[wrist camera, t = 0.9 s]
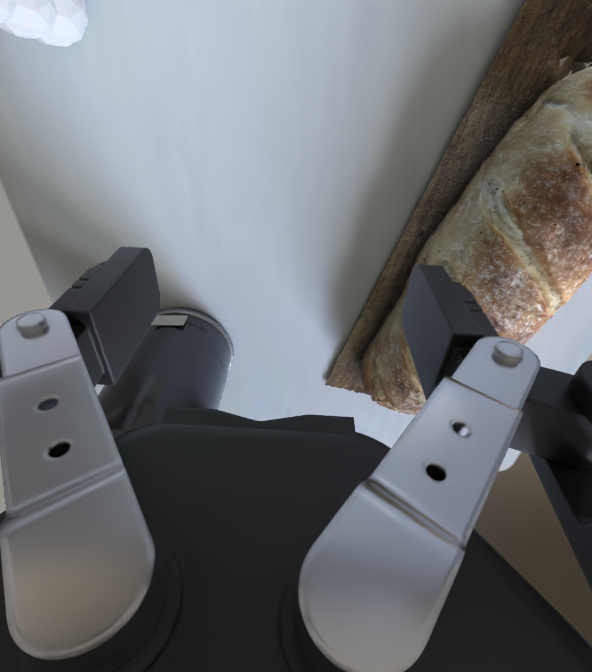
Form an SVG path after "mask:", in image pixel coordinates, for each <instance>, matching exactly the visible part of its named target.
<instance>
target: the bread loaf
mask: <svg viewBox="0 0 592 672" xmlns="http://www.w3.org/2000/svg"><path fill="white" fill-rule="evenodd" d="M577 162H578V163H579V164H581V165H579V166H576V163H577ZM495 188H498V189H499V190H496V189H495ZM481 231H482V233H481ZM480 233H481V234H480ZM479 234H480V235H479ZM485 242H486V243H485ZM438 251H440V252H439V253H438ZM424 258H425V260H424ZM416 264H426V265H442V266H443V267H444V268H445V270H446V272H447V273H448V275H449V277H450V278H451V280H452V282H458V283H459V284H461V285H462V286H465V287H466V289H468V290H469V291H470V292H471V293H472V294H473V296H474V298H475V299H476V301H477V304H479V305H480V307H481V308H482V310H483V313H485V314H486V316H487V318H488V319H489V321H490V322H491V324H492V325H493V327H494V328H495V330H496V331H497V333H498V335H499V336H500V337H505V338H509V339H512V340H515V341H517V342H519V343H521V344H523V345H525V344H526V343H527V342H528V341H529V340H530V339H531V338H532V337H533V336H534V335H535V334H536V333H537V332H538V331H539V330H540V329H541V328H542V326H543V325H544V324H545V323H546V321H547V320H548V319H550V318H551V317H552V316H553V315H554V314H555V313H556V311H557V309H559V308H560V307H561V306H563V305H564V304H566V303H567V302H568V300H569V299H570V298H571V297H572V296H573V294H574V293H575V292H576V291H577V290H578V289H579V288H580V287H581V285H582V284H583V283H584V282H585V281H586V280H588V278H589V276H590V274H591V272H592V0H525V2H524V4H523V6H522V8H521V10H520V12H519V14H518V16H517V18H516V20H515V22H514V24H513V26H512V27H511V29H510V31H509V33H508V35H507V36H506V38H505V40H504V42H503V44H502V46H501V48H500V50H499V52H498V54H497V55H496V57H495V59H494V61H493V63H492V65H491V67H490V69H489V71H488V73H487V74H486V76H485V78H484V80H483V82H482V84H481V86H480V88H479V90H478V91H477V93H476V95H475V97H474V99H473V101H472V103H471V104H470V106H469V108H468V110H467V112H466V114H465V116H464V118H463V119H462V121H461V123H460V125H459V127H458V129H457V131H456V133H455V135H454V137H453V139H452V141H451V143H450V145H449V147H448V149H447V150H446V152H445V154H444V156H443V158H442V160H441V162H440V164H439V166H438V168H437V170H436V172H435V174H434V176H433V178H432V180H431V182H430V183H429V185H428V187H427V189H426V191H425V192H424V194H423V196H422V198H421V200H420V202H419V203H418V205H417V207H416V209H415V211H414V213H413V215H412V217H411V219H410V221H409V223H408V225H407V227H406V229H405V231H404V233H403V235H402V237H401V239H400V241H399V242H398V244H397V246H396V248H395V250H394V252H393V254H392V256H391V258H390V260H389V262H388V264H387V266H386V267H385V269H384V271H383V273H382V275H381V277H380V279H379V281H378V283H377V285H376V287H375V289H374V291H373V292H372V294H371V296H370V298H369V300H368V302H367V304H366V306H365V308H364V310H363V312H362V314H361V316H360V318H359V320H358V322H357V323H356V325H355V327H354V329H353V331H352V333H351V335H350V337H349V339H348V341H347V343H346V345H345V347H344V349H343V350H342V352H341V354H340V356H339V358H338V360H337V362H336V363H335V365H334V367H333V369H332V373H331V375H330V376H329V378H328V380H327V381H326V383H325V385H330V386H332V387H338V388H344V389H347V390H350V391H351V390H353V391H355V392H357V393H358V392H360V393H365V394H367V395H370V396H372V397H371V399H372V400H373V401H376V402H377V404H379V405H382V406H384V407H387V408H389V409H391V410H394V411H395V410H398V411H399V412H403V413H406V414H411V415H416V414H417V413H418V412H419V410H420V409H421V408H422V406H423V405H424V404H425V402H426V399H425V396H424V393H423V390H422V387H421V384H420V380H419V377H418V374H417V371H416V368H415V365H414V362H413V359H412V355H411V352H410V349H409V346H408V343H407V340H406V337H405V334H404V330H403V327H402V310H403V306H404V302H405V298H406V294H407V291H408V287H409V283H410V279H411V275H412V272H413V269H414V267H415V265H416ZM340 376H341V377H340ZM387 411H388V410H387ZM399 412H398V413H399Z"/></svg>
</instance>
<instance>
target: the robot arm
mask: <svg viewBox="0 0 592 672" xmlns="http://www.w3.org/2000/svg"><path fill="white" fill-rule="evenodd" d="M159 307H160V292H159V287H158V282H157V277H156V272H155V267H154V262H153V257H152V254H151V251H150V250H149V249H148V248H137V247H120V248H119V249H118V250H117V251H116V252H115V253H114V254H113V255H112V256H111V257H110V258H109V259H108V260H107V262H102V263H100V264H98V265H96V266H94V267H92V268H90V269H89V270H88V271H87V272H86V273H84V274H83V275H82V276H81V277H80V278H79V280H77V281H76V282H75V283H74V284H73V285H72V288H69V289H68V290H67V291H66V292H65V293H64V294H63V295H62V296H61V297H60V298H59V299H58V300H57V301H56V302H55V303H54V304H53V305H52V306H51V307H50V308H49V309H38V310H32V311H28V312H25V313H21V314H19V315H16V316H14V317H12V318H10V319H9V320H7V321H6V322H5V323H3V324H2V325H1V326H0V458H1V468H2V477H3V486H4V496H5V505H6V510H5V511H4V512H2V513H1V514H0V672H592V645H591V644H590V643H589V642H588V641H587V640H586V639H585V638H584V637H582V635H581V634H580V633H579V632H578V631H577V630H576V629H574V628H573V627H572V625H570V624H569V622H567V620H565V619H564V617H563V616H562V615H560V613H558V611H557V610H556V609H554V607H552V606H551V605H550V604H549V603H548V602H547V601H546V600H545V599H544V598H543V597H542V596H541V595H540V594H539V593H538V592H537V591H536V590H535V589H534V588H533V587H532V586H531V585H530V584H529V583H528V582H527V581H526V580H525V579H524V578H523V577H522V576H521V575H520V574H519V573H518V572H517V571H516V570H515V569H514V568H513V567H512V566H511V565H510V564H509V563H508V562H507V561H506V560H505V559H504V558H503V557H502V556H501V555H500V554H499V553H498V552H497V551H496V550H495V549H494V548H493V547H492V546H491V545H490V544H489V543H488V542H487V541H486V540H485V539H484V538H483V537H482V536H481V535H480V534H479V533H478V532H477V531H476V530H475V529H474V526H475V523H476V521H477V519H478V516H479V514H480V512H481V509H482V507H483V505H484V503H485V500H486V498H487V496H488V493H489V491H490V488H491V486H492V484H493V482H494V480H495V477H496V475H497V473H498V470H499V468H500V466H501V464H502V461H503V459H504V457H505V454H506V452H507V450H508V447H509V448H512V449H515V450H519V451H522V452H525V453H528V454H529V456H530V458H531V460H532V463H533V465H534V467H535V469H536V471H537V474H538V476H539V478H540V480H541V482H542V484H543V486H544V489H545V491H546V493H547V495H548V497H549V500H550V501H551V504H552V506H553V508H554V510H555V513H556V515H557V517H558V519H559V521H560V523H561V525H562V528H563V530H564V532H565V534H566V536H567V538H568V541H569V543H570V545H571V547H572V549H573V551H574V554H575V556H576V558H577V560H578V562H579V564H580V567H581V569H582V571H583V573H584V575H585V577H586V579H587V582H588V584H589V586H590V588H591V590H592V361H587V362H584V363H583V364H582V365H581V366H580V368H579V369H578V370H577V372H576V373H575V375H571V374H567V373H563V372H560V371H556V370H552V369H548V368H544V367H541V366H540V360H539V358H538V357H537V355H536V354H535V353H534V352H533V351H532V350H531V349H529V348H528V347H526V346H525V345H523V344H521V343H519V342H517V341H515V340H512V339H509V338H505V337H500V336H499V335H498V333H497V331H496V330H495V328H494V327H493V325H492V324H491V322H490V321H489V319H488V318H487V316H486V314H485V313H483V310H482V308H481V307H480V305H479V304H477V301H476V299H475V298H474V296H473V294H472V293H471V292H470V291H469V290H468V289H466V288H465V287H464V286H462V285H461V284H459V283H458V282H452V280H451V278H450V277H449V275H448V273H447V272H446V270H445V268H444V267H443V266H442V265H426V264H416V265H415V267H414V269H413V272H412V275H411V279H410V283H409V287H408V291H407V294H406V298H405V302H404V306H403V310H402V327H403V330H404V334H405V337H406V340H407V343H408V346H409V349H410V352H411V355H412V359H413V362H414V365H415V368H416V371H417V374H418V377H419V380H420V384H421V387H422V390H423V393H424V396H425V399H426V402H425V404H424V405H423V406H422V408H421V409H420V410H419V412H418V413H417V414H416V416H415V417H414V418H413V420H412V421H411V422H410V424H409V425H408V426H407V428H406V429H405V430H404V432H403V433H402V435H401V436H400V437H399V439H398V440H397V441H396V443H395V444H394V445H393V447H392V448H389V447H388V446H386V445H385V444H383V443H381V442H379V441H377V440H375V439H373V438H371V437H369V436H366V435H364V434H361V433H357V432H355V426H354V417H339V416H323V415H302V416H295V417H288V418H281V419H274V420H268V421H255V420H251V419H248V418H244V417H241V416H237V415H234V414H230V413H226V412H223V411H219V410H218V408H219V404H220V400H221V396H222V393H223V389H224V386H225V382H226V378H227V374H228V371H229V368H230V366H231V363H232V359H233V345H232V342H231V339H230V337H229V335H228V334H227V332H226V331H225V330H224V329H223V327H222V326H221V325H220V324H218V323H217V322H216V321H215V320H213V319H212V318H210V317H209V316H207V315H205V314H203V313H200V312H198V311H195V310H191V309H185V308H168V309H163V310H160V311H159ZM96 384H102V385H104V387H103V388H102V390H101V392H100V393H99V395H98V396H97V393H96V391H95V388H94V387H95V386H96Z"/></svg>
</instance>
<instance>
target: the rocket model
mask: <svg viewBox="0 0 592 672" xmlns="http://www.w3.org/2000/svg"><path fill="white" fill-rule="evenodd" d="M87 24H88V17H87V12H86V7H85V2H84V0H0V27H1V28H2V29H4V30H6V31H8V32H10V33H12V34H13V35H15V36H17V37H24V38H33V39H37V40H39V41H40V42H42V43H44V44H46V45H53V46H62V47H68V46H69V45H71V44H73V43H75V42H77V41H79V40H81V38H82V36H83V33H84V31H85V28H86V26H87Z"/></svg>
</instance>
